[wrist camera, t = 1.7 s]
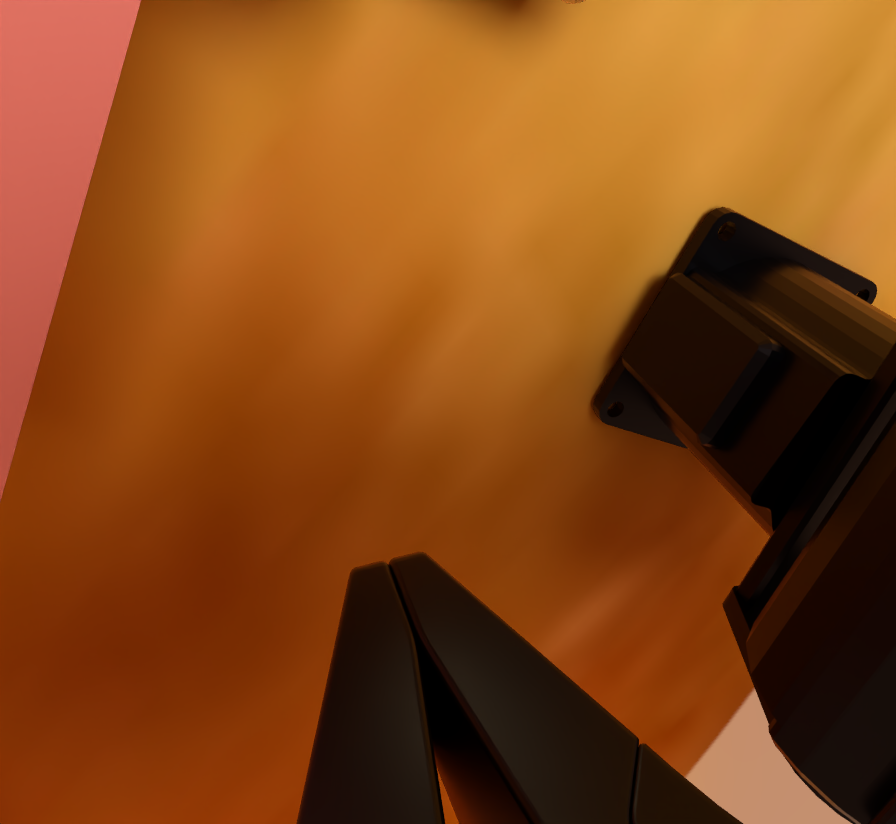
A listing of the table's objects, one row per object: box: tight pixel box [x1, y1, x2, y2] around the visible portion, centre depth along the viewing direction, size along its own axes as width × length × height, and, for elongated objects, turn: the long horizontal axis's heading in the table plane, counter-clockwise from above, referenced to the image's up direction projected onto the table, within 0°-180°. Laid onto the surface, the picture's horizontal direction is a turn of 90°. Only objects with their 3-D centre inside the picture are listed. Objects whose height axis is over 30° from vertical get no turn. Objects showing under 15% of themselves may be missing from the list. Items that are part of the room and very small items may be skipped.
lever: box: [0, 0, 141, 501], centre depth 9 cm, size 14×3×2 cm, turn 153°
